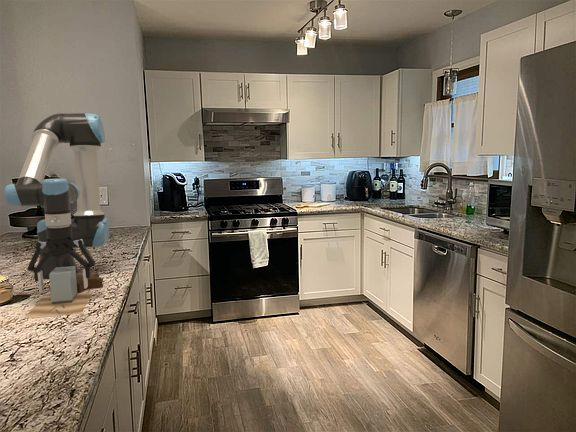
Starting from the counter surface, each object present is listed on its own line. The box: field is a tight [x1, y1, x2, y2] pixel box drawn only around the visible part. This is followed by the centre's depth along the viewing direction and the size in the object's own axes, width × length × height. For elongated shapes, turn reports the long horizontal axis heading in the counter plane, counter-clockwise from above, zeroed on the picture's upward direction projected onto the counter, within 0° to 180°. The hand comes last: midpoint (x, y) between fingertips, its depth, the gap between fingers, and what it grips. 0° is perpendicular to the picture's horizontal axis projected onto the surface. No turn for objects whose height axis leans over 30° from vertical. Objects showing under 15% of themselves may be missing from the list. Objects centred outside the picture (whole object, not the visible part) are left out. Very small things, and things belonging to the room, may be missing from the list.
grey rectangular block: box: [48, 266, 77, 304], centre depth 152 cm, size 9×6×10 cm, turn 14°
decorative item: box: [76, 272, 104, 293], centre depth 167 cm, size 16×6×15 cm
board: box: [23, 291, 94, 320], centre depth 147 cm, size 22×16×1 cm
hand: (64, 289), depth 152 cm, fingers open, 13 cm apart
